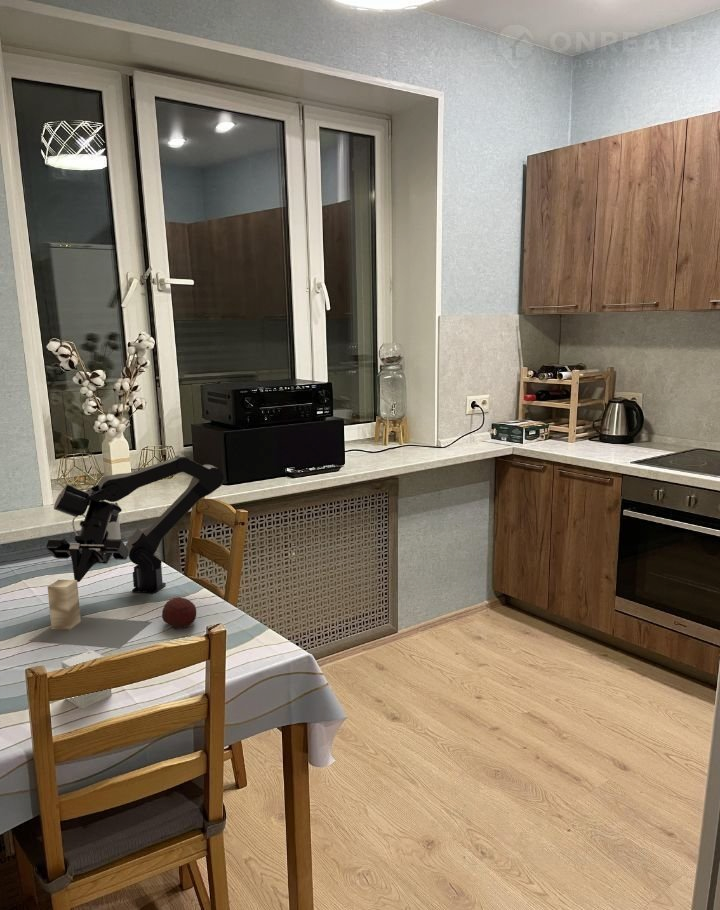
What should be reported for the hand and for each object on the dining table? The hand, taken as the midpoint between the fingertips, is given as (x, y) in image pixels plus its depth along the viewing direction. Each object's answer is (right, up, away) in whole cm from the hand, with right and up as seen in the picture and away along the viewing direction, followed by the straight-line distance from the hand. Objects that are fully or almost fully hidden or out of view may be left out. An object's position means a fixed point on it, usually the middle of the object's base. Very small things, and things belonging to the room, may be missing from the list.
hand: (76, 581), depth 162 cm
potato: (+26, -9, -5) cm, 28 cm away
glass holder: (-13, -1, +49) cm, 51 cm away
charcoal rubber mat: (+7, -10, -8) cm, 15 cm away
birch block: (0, -9, -5) cm, 10 cm away
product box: (+17, -15, -37) cm, 43 cm away
